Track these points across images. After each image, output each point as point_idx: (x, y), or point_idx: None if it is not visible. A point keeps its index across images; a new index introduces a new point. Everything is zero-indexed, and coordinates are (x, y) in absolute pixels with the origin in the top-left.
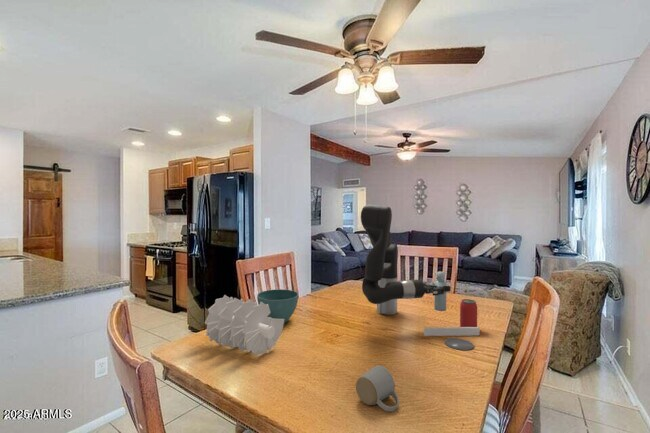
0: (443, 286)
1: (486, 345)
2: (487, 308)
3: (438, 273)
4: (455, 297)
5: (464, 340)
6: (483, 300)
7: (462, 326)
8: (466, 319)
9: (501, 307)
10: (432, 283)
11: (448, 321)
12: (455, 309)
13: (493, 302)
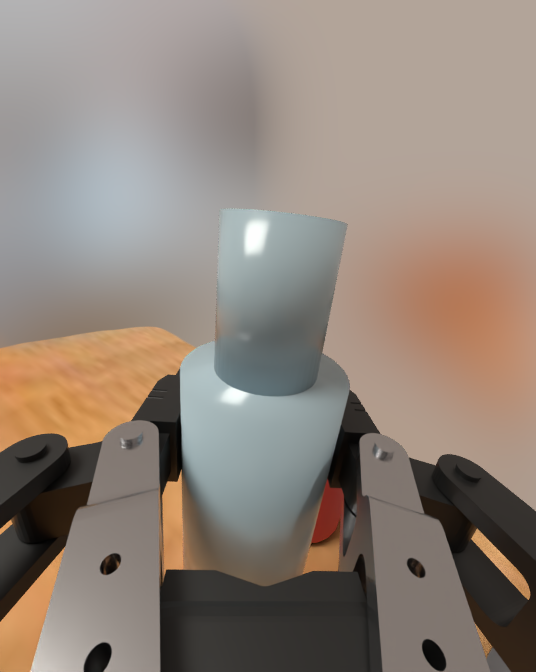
0: (360, 423)
1: (498, 561)
2: (157, 358)
3: (312, 237)
4: (21, 358)
5: (506, 667)
6: (109, 338)
7: (318, 533)
8: (342, 495)
9: (171, 342)
10: (156, 464)
11: (178, 532)
12: (92, 415)
13: (136, 335)
